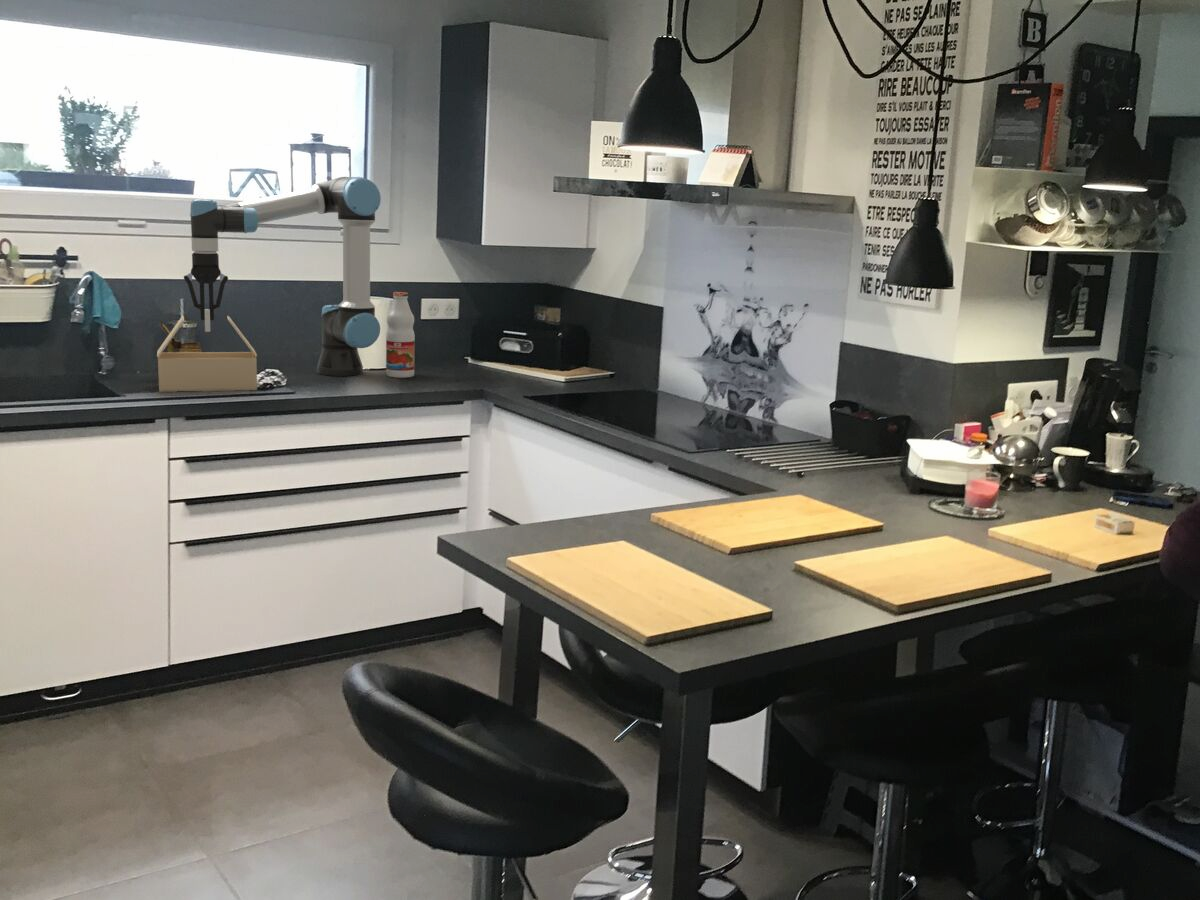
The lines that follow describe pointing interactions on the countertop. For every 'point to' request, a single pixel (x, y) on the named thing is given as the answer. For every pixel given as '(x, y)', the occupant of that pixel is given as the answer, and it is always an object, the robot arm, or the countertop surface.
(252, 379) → the carton
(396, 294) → the fruit juice
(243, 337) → the flap
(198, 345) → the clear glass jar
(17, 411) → the countertop surface
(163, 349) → the flap
